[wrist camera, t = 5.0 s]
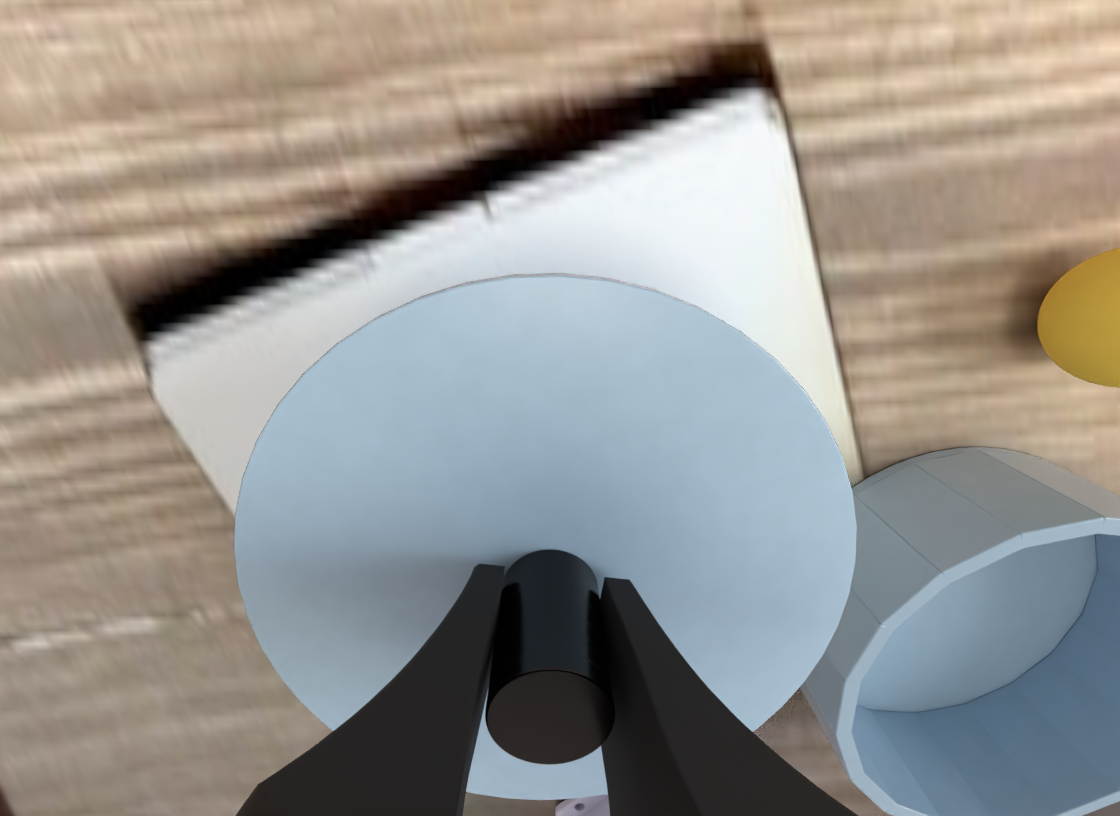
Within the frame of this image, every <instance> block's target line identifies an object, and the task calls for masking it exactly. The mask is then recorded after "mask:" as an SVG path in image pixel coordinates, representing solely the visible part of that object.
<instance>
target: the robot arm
mask: <svg viewBox="0 0 1120 816" xmlns="http://www.w3.org/2000/svg"><path fill="white" fill-rule="evenodd" d="M504 570H505V566H498V565H488V564H478V565H477V566H475V567H474V569H473V572H472V574H471V576H470V578H469V580H468V582H467V584H466V586H465V587H464V589H463V591H462V592H461V594H460V596H459V597H458V599H457V600H456V602H455V603H454V605H453V606H452V608H451V609H450V611H449V612H448V613H447V615H446V616H445V618H444V619H443V621H442V622H441V623H440V625H439V626H438V627H437V628H436V630H435V631H434V632H433V633H432V635H431V636H430V637H429V638H428V640H427V641H426V642H425V643H424V645H423V646H422V647H421V648H420V650H419V651H418V652H417V653H416V654H415V655H414V656H413V658H412V659H411V660H410V661H409V662H408V663H407V664H406V665H405V666H404V667H403V669H402V670H401V671H400V672H399V673H398V674H397V675H396V676H395V677H394V678H393V679H392V680H391V681H390V682H389V683H388V684H387V685H386V686H385V687H384V688H383V689H382V690H380V691H379V692H378V693H377V694H376V695H375V696H374V697H373V698H372V699H371V700H370V701H369V702H368V703H367V704H365V705H364V706H363V707H362V708H361V709H360V710H359V711H358V712H356V713H355V714H354V715H353V716H352V717H350V718H349V719H348V720H347V721H345V722H344V723H343V724H342V725H340V726H339V727H338V728H337V729H335V730H334V731H333V732H332V733H330V734H329V735H328V736H327V737H325V738H324V739H323V740H322V741H320V742H319V743H318V744H316V745H315V746H314V747H312V748H311V749H310V750H308V751H307V752H305V753H304V754H302V755H301V756H300V757H298V758H297V759H295V760H294V761H292V762H291V763H289V764H288V765H286V766H285V767H283V768H282V769H281V770H279V771H278V772H276V773H275V774H273V775H272V776H270V777H269V778H267V779H266V780H264V781H263V782H261V783H260V784H258V785H257V787H256V788H255V789H254V791H253V792H252V793H251V795H250V796H249V798H248V799H247V800H246V802H245V803H244V804H243V806H242V807H241V809H240V810H239V812H238V813H237V815H236V816H462V814H463V807H464V800H465V794H466V788H467V783H468V777H469V772H470V768H471V763H472V759H473V754H474V750H475V745H476V741H477V736H478V732H479V727H480V723H481V718H482V714H483V709H484V705H485V700H486V696H487V691H488V687H489V679H490V671H491V663H492V655H493V647H494V639H495V634H496V628H497V624H498V617H499V610H500V602H501V594H502V587H503V578H504ZM600 604H601V612H602V619H603V626H604V633H605V641H606V648H607V655H608V662H609V670H610V677H611V684H612V691H613V699H614V706H615V721H614V725H613V728H612V731H611V733H610V735H609V736H608V738H607V739H606V740H605V742H604V743H603V744H602V745H601V749H602V756H603V763H604V769H605V776H606V782H607V790H608V794H606V795H599V796H591V797H583V798H576V799H566V800H564V801H563V802H561V803H560V804H558V805H557V806H556V809H555V816H858V815H856V814H855V813H854V812H852V811H851V810H849V809H848V808H846V807H845V806H844V805H842V804H841V803H839V802H838V801H837V800H835V799H834V798H832V797H831V796H829V795H828V794H827V793H825V792H824V791H822V790H821V789H820V788H818V787H817V786H816V785H815V784H813V783H812V782H811V781H810V780H808V779H807V778H806V777H805V776H803V775H802V774H801V773H799V772H798V771H797V770H796V769H794V768H793V767H792V766H791V765H789V764H788V763H787V762H786V761H785V760H783V759H782V758H781V757H780V756H779V755H778V754H776V753H775V752H774V751H773V750H772V749H771V748H769V747H768V746H767V745H766V744H765V743H764V742H763V741H762V740H761V739H760V738H758V737H757V736H756V735H755V734H754V733H753V732H752V731H751V730H750V729H749V728H747V727H746V726H745V725H744V724H743V723H742V722H741V721H740V720H739V719H738V718H737V717H736V716H735V715H734V714H733V713H732V712H731V711H730V710H729V709H728V708H727V707H726V706H725V705H724V704H723V703H722V701H721V700H720V699H719V698H718V697H717V696H716V695H715V694H714V693H713V692H712V691H711V690H710V689H709V688H708V686H707V685H706V684H705V683H704V682H703V681H702V680H701V679H700V677H699V676H698V675H697V674H696V672H695V671H694V670H693V669H692V668H691V666H690V665H689V664H688V663H687V661H686V660H685V659H684V657H683V656H682V655H681V654H680V652H679V651H678V650H677V648H676V647H675V646H674V644H673V643H672V641H671V640H670V639H669V637H668V636H667V635H666V633H665V632H664V630H663V629H662V628H661V626H660V625H659V623H658V622H657V620H656V619H655V617H654V616H653V614H652V613H651V611H650V610H649V608H648V607H647V605H646V604H645V602H644V601H643V599H642V598H641V596H640V594H639V593H638V591H637V590H636V588H635V587H634V585H633V584H632V582H631V581H630V580H629V579H619V578H610V577H604V582H603V587H602V592H601V597H600Z"/></svg>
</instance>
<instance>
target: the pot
mask: <svg viewBox="0 0 1120 816" xmlns="http://www.w3.org/2000/svg"><path fill="white" fill-rule="evenodd" d="M852 492H853V500H854V509H855V517H856V525H857V533H856V558H855V566H854V571H853V576H852V581H851V586H850V592H849V596H848V599H847V601H846V604H845V607H844V610H843V613H842V616H841V618H840V621H839V624H838V627H837V629H836V630H835V632H834V634H833V636H832V638H831V640H830V642H829V644H828V646H827V648H826V650H825V652H824V654H823V656H822V657H821V658H820V660H819V661H818V663H817V664H816V666H815V667H814V668H813V670H812V671H811V673H810V674H809V676H808V677H807V679H806V680H805V681H804V683H803V684H802V685H801V686H800V689H801V691H802V692H803V694H804V696H805V698H806V700H807V702H808V703H809V705H810V707H811V709H812V711H813V713H814V715H815V716H816V718H817V720H818V722H819V724H820V726H821V728H822V729H823V731H824V733H825V735H826V737H827V739H828V740H829V742H830V744H831V746H832V748H833V750H834V752H835V753H836V755H837V757H838V759H839V761H840V763H841V764H842V766H843V768H844V770H845V772H846V774H847V776H848V777H849V779H850V781H852V782H853V783H854V784H855V785H856V786H857V787H858V788H859V789H860V790H861V791H862V792H863V793H864V794H865V795H866V796H868V797H869V798H870V799H871V800H872V801H873V802H874V803H875V804H876V805H877V806H878V807H879V808H880V809H881V810H883V811H884V812H886V813H887V814H890V815H893V816H1083V815H1085V814H1088V813H1090V812H1093V811H1096V810H1098V809H1101V808H1103V807H1106V806H1108V805H1111V804H1114V803H1116V802H1119V801H1120V496H1119V495H1117V494H1115V493H1113V492H1111V491H1109V490H1107V489H1105V488H1103V487H1101V486H1099V485H1096V484H1094V483H1092V482H1090V481H1088V480H1086V479H1084V478H1082V477H1080V476H1078V475H1076V474H1074V473H1071V472H1069V471H1067V470H1065V469H1063V468H1061V467H1059V466H1057V465H1055V464H1053V463H1051V462H1049V461H1047V460H1044V459H1042V458H1040V457H1037V456H1031V455H1028V454H1025V453H1021V452H1016V451H1012V450H1008V449H1000V448H989V447H967V448H955V449H948V450H942V451H936V452H932V453H928V454H924V455H921V456H917V457H913V458H910V459H908V460H905V461H903V462H900V463H897V464H895V465H892V466H890V467H888V468H886V469H884V470H882V471H880V472H878V473H876V474H874V475H872V476H870V477H868V478H867V479H865V480H864V481H862V482H860V483H859V484H857V485H856V486H854V487H853V488H852Z"/></svg>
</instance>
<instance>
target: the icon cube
mask: <svg viewBox="0 0 1120 816" xmlns="http://www.w3.org/2000/svg"><path fill="white" fill-rule="evenodd" d="M1083 816H1120V801H1119V802H1116V803H1114V804H1111V805H1108V806H1106V807H1103V808H1101V809H1098V810H1096V811H1093V812H1090V813H1088V814H1085V815H1083Z"/></svg>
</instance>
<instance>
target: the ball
mask: <svg viewBox="0 0 1120 816" xmlns="http://www.w3.org/2000/svg"><path fill="white" fill-rule="evenodd" d="M1037 329H1038V335H1039V339H1040V342H1041V344H1042V346H1043V348H1044V350H1045V352H1046V353H1047V354H1048V356H1049V357H1050V358H1051V359H1052V360H1053V361H1054V362H1055V363H1056V364H1057V365H1058V366H1059V367H1060V368H1062V369H1063V370H1065V371H1066V372H1068V373H1070V374H1071V375H1073V376H1075V377H1078V378H1080V379H1082V380H1085V381H1088V382H1091V383H1095V384H1099V385H1103V386H1109V387H1120V248H1117V249H1113V250H1110V251H1106V252H1104V253H1101V254H1099V255H1096V256H1094V257H1092V258H1089V259H1087V260H1086V261H1084V262H1082V263H1080V264H1079V265H1077V266H1075V267H1074V268H1073V269H1071V270H1070V271H1068V272H1067V273H1066V274H1065V275H1063V276H1062V277H1061V278H1060V279H1059V280H1058V281H1057V282H1056V283H1055V284H1054V286H1053V287H1052V288H1051V289H1050V290H1049V292H1048V293H1047V295H1046V297H1045V298H1044V300H1043V302H1042V305H1041V307H1040V310H1039V314H1038V328H1037Z"/></svg>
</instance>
